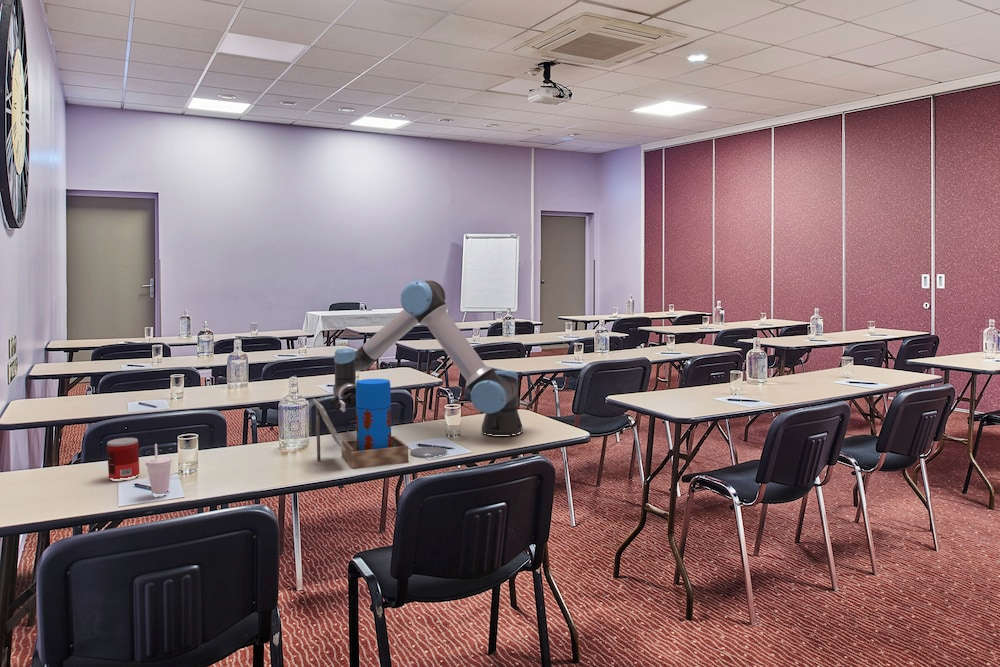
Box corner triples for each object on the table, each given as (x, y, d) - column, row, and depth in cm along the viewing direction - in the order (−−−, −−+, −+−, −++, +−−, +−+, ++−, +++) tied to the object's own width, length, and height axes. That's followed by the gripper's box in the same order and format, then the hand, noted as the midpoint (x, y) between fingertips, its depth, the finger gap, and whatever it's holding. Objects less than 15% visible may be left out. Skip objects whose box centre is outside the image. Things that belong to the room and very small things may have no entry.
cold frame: (394, 450, 235) (393, 392, 233) (408, 462, 221) (407, 400, 219) (314, 459, 224) (312, 398, 223) (323, 472, 210) (321, 407, 208)
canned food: (145, 474, 208) (143, 438, 207) (126, 482, 200) (124, 444, 199) (122, 473, 209) (121, 436, 208) (102, 481, 201) (100, 443, 200)
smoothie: (145, 494, 189) (142, 443, 188) (171, 490, 193) (168, 439, 192) (149, 500, 184) (146, 448, 183) (175, 496, 188) (173, 444, 187)
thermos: (384, 464, 218) (383, 384, 216) (351, 462, 220) (350, 383, 218) (396, 455, 228) (395, 379, 226) (365, 454, 231) (363, 378, 228)
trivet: (439, 447, 239) (439, 445, 239) (452, 455, 229) (452, 453, 228) (405, 450, 235) (405, 449, 235) (416, 459, 224) (416, 457, 224)
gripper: (385, 403, 258) (401, 414, 238) (315, 408, 247) (326, 420, 228) (385, 383, 257) (401, 392, 238) (315, 387, 247) (326, 397, 228)
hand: (364, 406), depth 233 cm, fingers open, 13 cm apart
